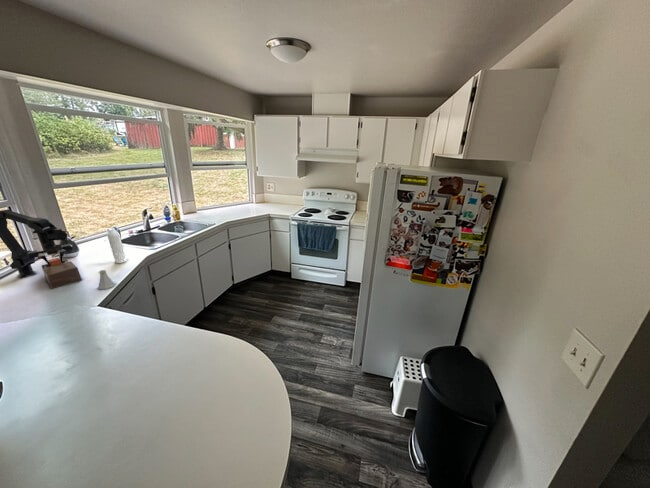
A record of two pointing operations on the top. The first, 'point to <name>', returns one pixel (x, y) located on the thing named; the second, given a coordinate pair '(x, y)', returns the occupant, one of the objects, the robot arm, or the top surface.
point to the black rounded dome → (69, 241)
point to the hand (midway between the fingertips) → (55, 263)
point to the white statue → (116, 246)
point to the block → (54, 261)
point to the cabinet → (61, 274)
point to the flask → (105, 280)
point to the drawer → (49, 265)
